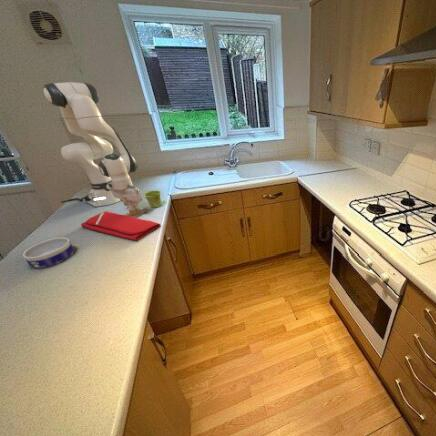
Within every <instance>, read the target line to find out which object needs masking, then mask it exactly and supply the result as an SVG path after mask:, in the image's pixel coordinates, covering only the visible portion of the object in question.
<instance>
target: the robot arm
mask: <svg viewBox="0 0 436 436" xmlns="http://www.w3.org/2000/svg"><path fill="white" fill-rule="evenodd" d="M42 88H43V95H44V97H45V98H46V100H47V101H48V102H49V103H50V104H51V105H53V106H54V107H59V109H60V113H61V116H62V118H63V121H64V123H65V126H66V128H67V131H68V132H69V133H70V134H72V135H74V136H77V137H81V138H82V139H83V141H80V142H73V143H69V144H67V145H64V146H62V147H61V149H60V155H61V156H62V158H63V160H65V161H66V162H67V163H70V164H73V165H75V166H78V167H79V168H81V169H82V170H83V171H84V172H85V175H86V176H87V178H88V180H89V181H90V182H89V185H90V187H91V189H90V190H89V191H88V194H87V195H84V196H83V197H81V198H79V197H75V198H70V199H67V200H62V201H60V203H61V204H63V203H66V202H71V201H77V200H78V201H80V202H83V200H84V201H85V202H86V203H87V204H89V205H91V206H93V207H96V208H97V207H103V206H109V205H113V204H116V203H119V202H121V203H122V204H123V206H126V207H127V205H126V202H125V199H124V197H123V195H122V194H125V195H126V199H127V200H128V201H133V203H134V208H137V209H138V208H139V207H140V205H139V203H140V202H142V201H143V199H144V197H143V195H142V193H141V191H140V190H139V188H138V187H136V185H134V184H133V182H132V181H133V180H132V178H131V176H130V175H129V174H132V173H135V172H136V171H137V170H138V168H139V163H138V162H137V160H136V159H135V157H134V156H133V155H132V153H131V152H130V150H129V149H128V147H127V145H126V144H125V142H124V140H123V139H122V137H121V136H120V134H119V133H118V131H117V130H116V129H115V128H114V127H113V126H111V125H109V124H108V123H107V121H105V120H104V118H103V116H102V113H101V111H100V109H99V108H98V106H97V104H98V103H99V102H100V94H99V92H98V90H97V88H96V87H95V86H94V85H93V84H91V83H88V82H75V81H74V82H73V81H67V82H55V83H53V82H49V83H45V84H44V85H43V87H42ZM106 139H107V140H106ZM109 140H110V141H111V142H112V143H113V144H114V146H115V147H116V148H117V150H118V152H119V153H120V154H117V153H114V147H113V145H112V143H110V142H109ZM99 159H102V160H100V161H99V163H98V164H96V163H95V162H94V160H99Z"/></svg>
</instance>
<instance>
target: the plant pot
mask: <svg viewBox="0 0 436 436" xmlns="http://www.w3.org/2000/svg"><path fill="white" fill-rule="evenodd" d="M143 197H145V199H146V200H147V202H148V204H149V206H150V207H151V208H152V209H156V208H159V207H161V206H162V205H163V204H162V203H163V202H162V198H161V191H160V190H150V191H147V192H145V193H144V194H143Z"/></svg>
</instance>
